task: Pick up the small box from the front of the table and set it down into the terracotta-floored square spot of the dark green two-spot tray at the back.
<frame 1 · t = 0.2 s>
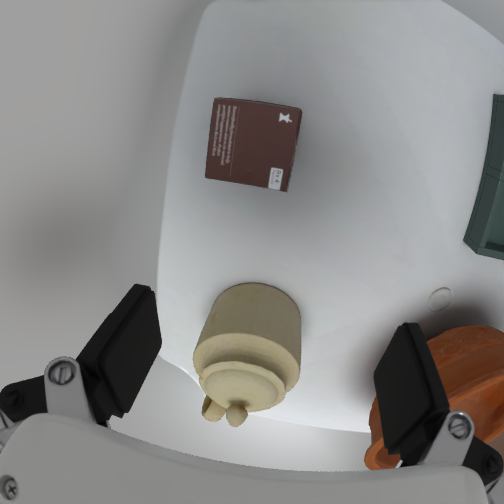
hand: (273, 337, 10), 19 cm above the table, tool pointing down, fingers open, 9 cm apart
box: (262, 135, 25), on the table
bowl: (432, 354, 34), on the table
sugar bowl: (255, 329, 35), on the table
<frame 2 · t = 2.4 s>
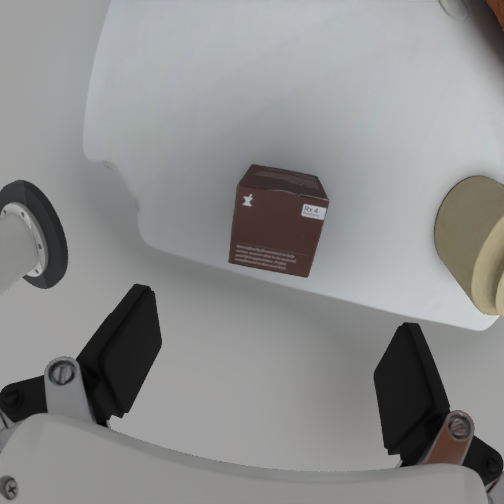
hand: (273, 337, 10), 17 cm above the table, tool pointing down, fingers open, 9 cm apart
box: (279, 200, 25), on the table
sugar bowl: (484, 226, 23), on the table
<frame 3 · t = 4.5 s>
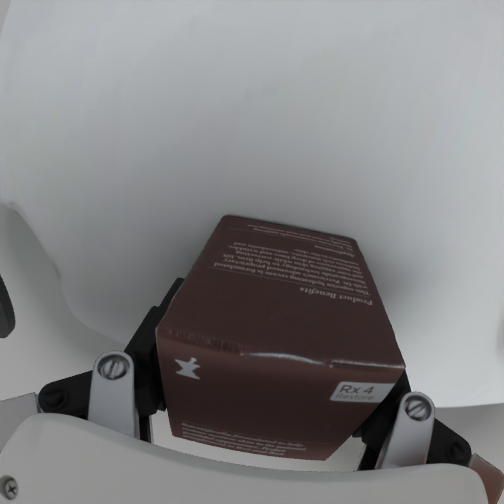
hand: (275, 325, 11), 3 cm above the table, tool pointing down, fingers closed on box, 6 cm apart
box: (279, 280, 14), on the table, touching gripper
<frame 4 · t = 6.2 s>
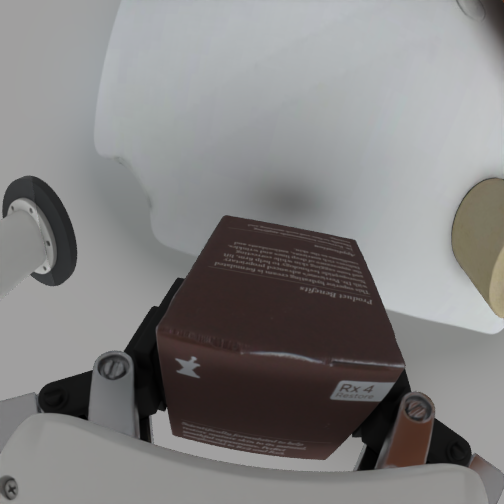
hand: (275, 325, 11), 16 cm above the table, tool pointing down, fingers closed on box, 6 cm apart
box: (279, 279, 14), point 13 cm above the table, touching gripper
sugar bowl: (499, 229, 22), on the table
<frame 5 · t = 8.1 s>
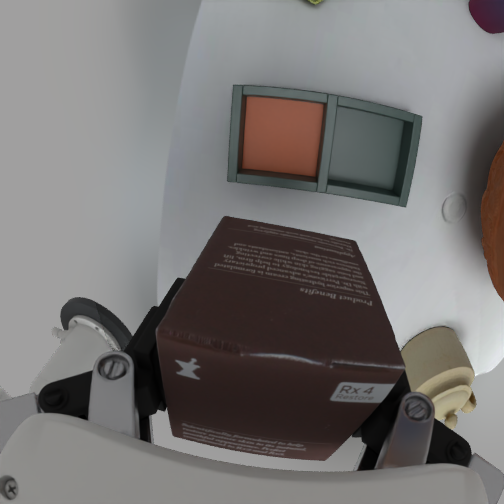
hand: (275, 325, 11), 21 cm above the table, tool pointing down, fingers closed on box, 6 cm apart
box: (279, 280, 14), point 17 cm above the table, touching gripper
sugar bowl: (436, 350, 37), on the table
tray: (323, 140, 26), on the table
cup: (483, 16, 14), on the table
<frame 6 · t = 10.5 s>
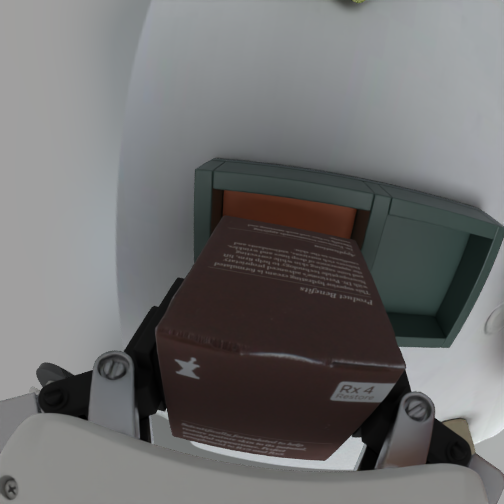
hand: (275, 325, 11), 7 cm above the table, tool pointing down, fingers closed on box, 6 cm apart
box: (279, 279, 14), point 4 cm above the table, touching gripper
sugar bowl: (443, 434, 28), on the table
tray: (350, 251, 17), on the table
when the fingers open (4 cm above the table, at t = 12.1 s): box stays where it is, resting on tray.
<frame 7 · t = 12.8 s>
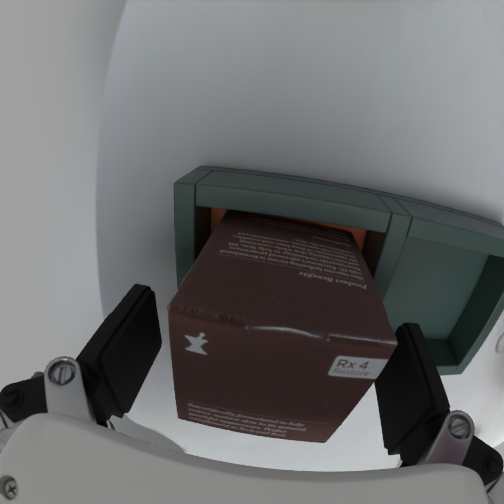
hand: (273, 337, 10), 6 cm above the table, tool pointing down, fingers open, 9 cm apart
box: (280, 271, 14), point 1 cm above the table, touching tray
tray: (358, 272, 15), on the table
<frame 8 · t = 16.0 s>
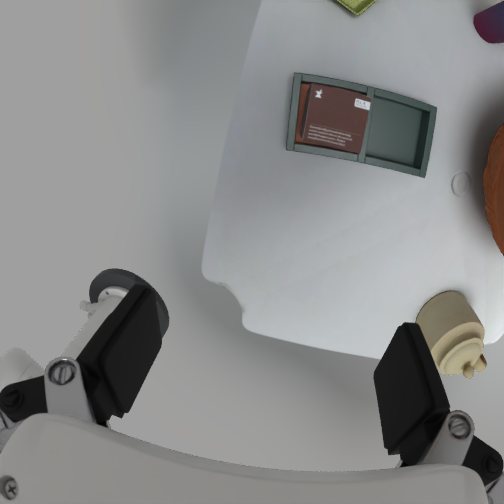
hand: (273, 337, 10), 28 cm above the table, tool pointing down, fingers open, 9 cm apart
box: (327, 117, 30), point 1 cm above the table, touching tray
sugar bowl: (448, 314, 41), on the table
tray: (360, 123, 31), on the table
cup: (485, 28, 19), on the table
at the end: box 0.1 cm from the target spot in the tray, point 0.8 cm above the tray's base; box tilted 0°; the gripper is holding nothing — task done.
